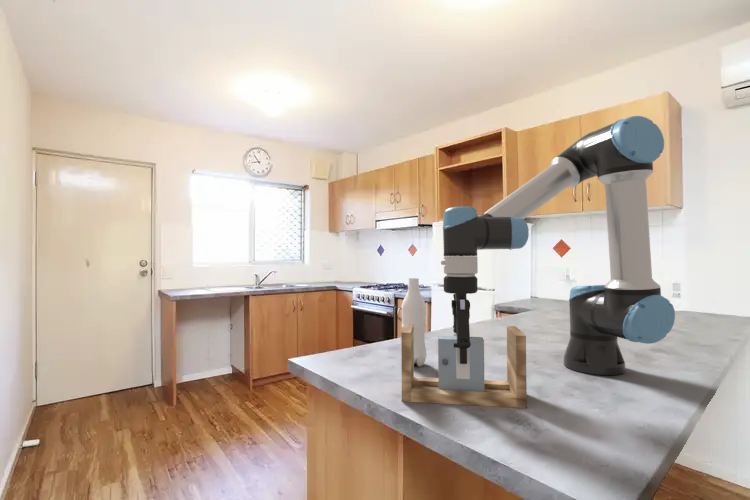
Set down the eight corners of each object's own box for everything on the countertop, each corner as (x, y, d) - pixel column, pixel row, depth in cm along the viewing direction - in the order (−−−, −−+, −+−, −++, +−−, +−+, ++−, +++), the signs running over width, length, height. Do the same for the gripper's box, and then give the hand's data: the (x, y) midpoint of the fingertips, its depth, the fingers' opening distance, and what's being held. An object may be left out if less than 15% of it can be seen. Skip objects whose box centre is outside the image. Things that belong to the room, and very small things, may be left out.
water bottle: (425, 368, 110) (424, 279, 110) (400, 367, 112) (399, 279, 112) (427, 361, 117) (426, 277, 117) (403, 360, 119) (402, 277, 119)
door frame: (516, 390, 93) (515, 326, 93) (526, 408, 82) (526, 335, 82) (405, 384, 97) (405, 323, 97) (401, 401, 86) (401, 332, 86)
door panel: (482, 389, 90) (482, 337, 90) (484, 396, 86) (484, 341, 86) (438, 387, 92) (438, 335, 92) (438, 394, 87) (438, 339, 88)
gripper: (442, 272, 102) (443, 354, 102) (444, 278, 78) (445, 386, 78) (472, 272, 101) (473, 355, 101) (483, 278, 77) (484, 388, 76)
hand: (461, 369), depth 89 cm, fingers open, 13 cm apart
